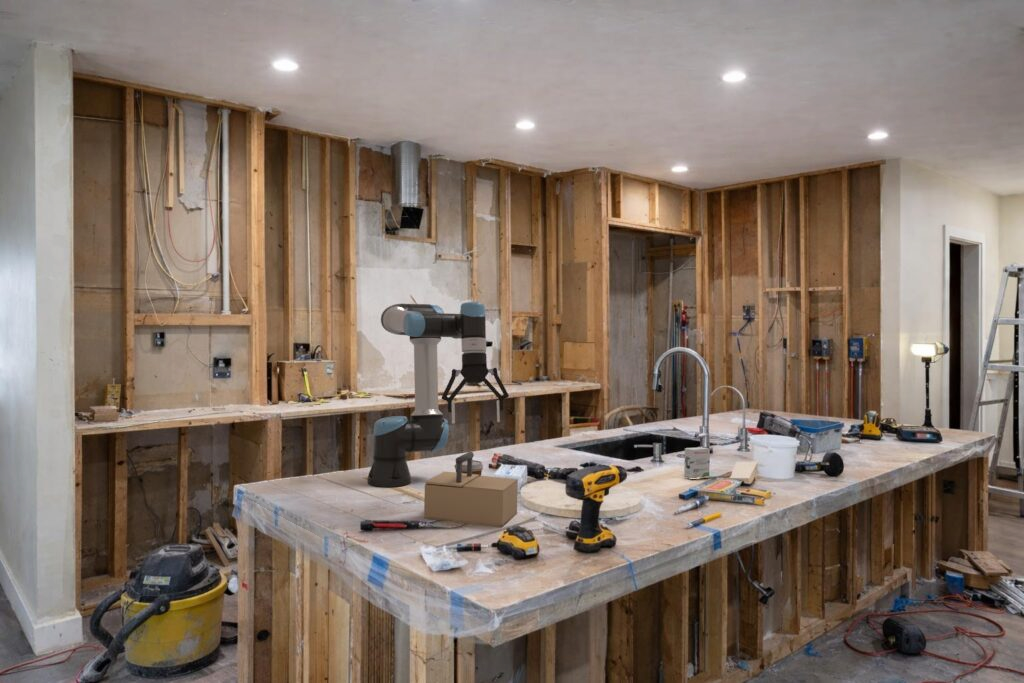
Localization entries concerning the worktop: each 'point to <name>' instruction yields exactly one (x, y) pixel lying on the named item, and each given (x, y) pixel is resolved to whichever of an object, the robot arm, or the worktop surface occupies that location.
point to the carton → (473, 501)
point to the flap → (456, 474)
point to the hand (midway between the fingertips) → (476, 422)
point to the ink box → (696, 462)
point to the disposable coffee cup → (476, 467)
